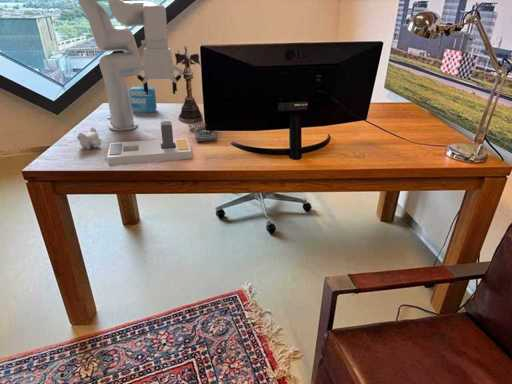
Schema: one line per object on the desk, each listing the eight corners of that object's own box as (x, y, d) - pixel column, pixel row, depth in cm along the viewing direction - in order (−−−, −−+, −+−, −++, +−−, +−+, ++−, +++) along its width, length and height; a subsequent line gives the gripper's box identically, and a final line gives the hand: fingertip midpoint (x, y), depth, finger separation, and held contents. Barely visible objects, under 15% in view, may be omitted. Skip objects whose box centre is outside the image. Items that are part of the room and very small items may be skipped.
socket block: (108, 165, 130) (107, 156, 129) (111, 150, 142) (109, 142, 140) (191, 158, 138) (191, 150, 136) (187, 144, 150) (187, 137, 148)
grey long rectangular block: (163, 155, 140) (160, 122, 133) (163, 151, 143) (160, 118, 136) (174, 154, 141) (171, 121, 134) (173, 150, 144) (170, 118, 137)
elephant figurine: (95, 152, 139) (92, 135, 136) (75, 149, 142) (71, 132, 138) (108, 145, 146) (105, 129, 142) (88, 142, 148) (84, 125, 145)
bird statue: (178, 112, 187) (172, 40, 169) (203, 112, 188) (200, 41, 170) (173, 122, 173) (167, 45, 155) (201, 123, 174) (198, 46, 156)
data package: (131, 112, 184) (128, 88, 178) (133, 109, 188) (130, 86, 182) (155, 112, 185) (153, 89, 179) (156, 110, 189) (154, 87, 183)
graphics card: (188, 123, 164) (214, 122, 166) (188, 131, 166) (214, 130, 168) (188, 137, 149) (217, 135, 151) (189, 145, 151) (217, 144, 153)
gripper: (130, 45, 119) (136, 96, 128) (183, 46, 123) (185, 95, 132) (131, 42, 125) (136, 91, 134) (181, 42, 129) (183, 90, 138)
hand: (160, 93), depth 133 cm, fingers open, 9 cm apart
